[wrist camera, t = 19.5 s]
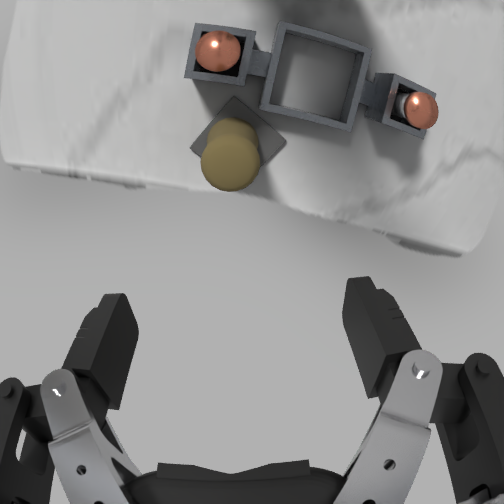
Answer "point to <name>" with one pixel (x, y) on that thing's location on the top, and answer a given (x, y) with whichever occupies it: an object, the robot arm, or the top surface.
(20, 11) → the top surface
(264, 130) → the pad
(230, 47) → the plunger
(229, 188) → the cork
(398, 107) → the plunger
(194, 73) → the housing
